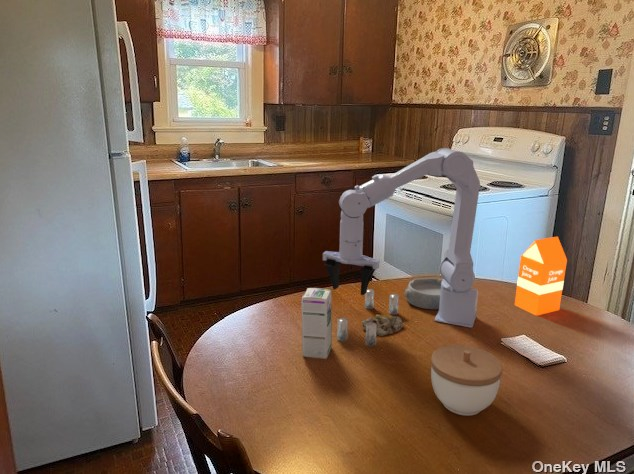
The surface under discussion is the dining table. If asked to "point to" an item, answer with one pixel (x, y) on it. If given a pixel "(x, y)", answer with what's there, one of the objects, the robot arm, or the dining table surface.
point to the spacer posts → (370, 327)
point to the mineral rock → (385, 324)
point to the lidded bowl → (465, 378)
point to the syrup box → (316, 323)
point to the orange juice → (541, 277)
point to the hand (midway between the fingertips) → (349, 290)
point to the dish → (424, 293)
